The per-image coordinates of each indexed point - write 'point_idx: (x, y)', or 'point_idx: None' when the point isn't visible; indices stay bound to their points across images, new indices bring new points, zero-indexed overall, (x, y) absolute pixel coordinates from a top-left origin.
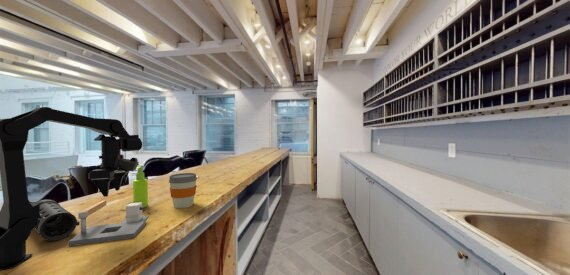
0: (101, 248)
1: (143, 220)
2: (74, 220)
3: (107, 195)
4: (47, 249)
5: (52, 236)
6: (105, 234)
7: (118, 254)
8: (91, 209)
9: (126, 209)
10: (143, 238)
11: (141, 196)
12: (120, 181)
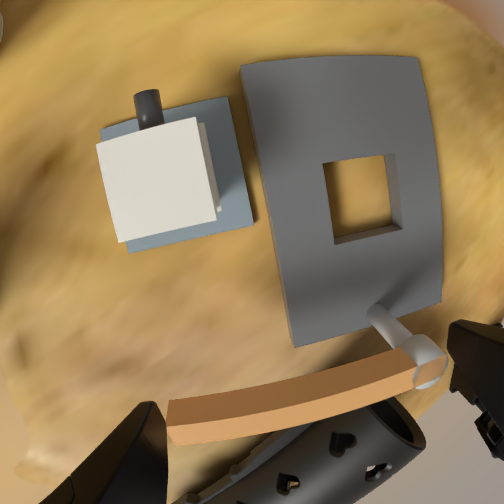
0: (469, 152)
1: (189, 108)
2: None
3: (465, 321)
4: None
5: None
6: (417, 188)
7: (496, 77)
8: (372, 377)
9: (216, 211)
10: (409, 25)
11: None
12: (110, 490)
